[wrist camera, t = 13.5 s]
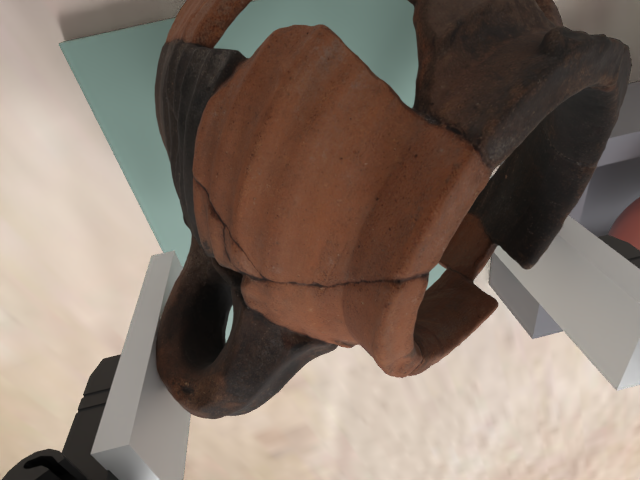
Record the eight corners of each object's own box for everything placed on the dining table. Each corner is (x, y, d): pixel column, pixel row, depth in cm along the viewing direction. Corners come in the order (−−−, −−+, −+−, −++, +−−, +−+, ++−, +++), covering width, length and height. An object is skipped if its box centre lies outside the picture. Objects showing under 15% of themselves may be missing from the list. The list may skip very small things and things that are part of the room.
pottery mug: (253, -202, 8) (759, -303, 3) (413, 69, 16) (640, 152, 11) (-15, 272, 10) (84, 647, 5) (249, 310, 17) (387, 473, 13)
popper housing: (488, 284, 22) (532, 339, 19) (505, 112, 17) (570, 147, 13) (653, 243, 22) (723, 290, 19) (722, 61, 17) (838, 84, 14)
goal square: (215, 348, 21) (215, 355, 21) (64, 41, 13) (58, 43, 12) (468, 285, 22) (472, 291, 21) (486, -50, 13) (494, -51, 13)
